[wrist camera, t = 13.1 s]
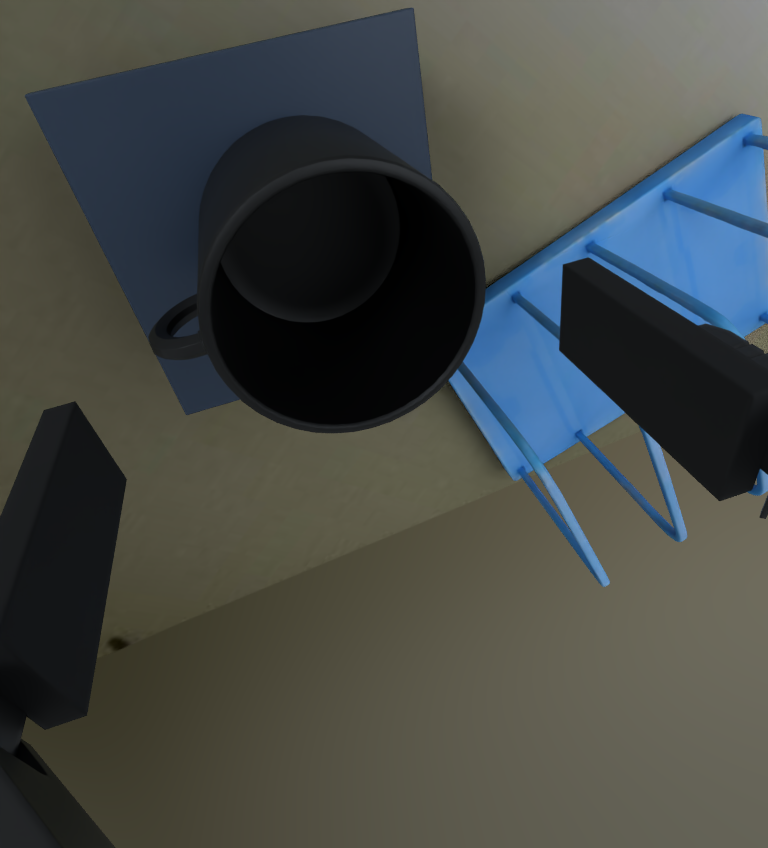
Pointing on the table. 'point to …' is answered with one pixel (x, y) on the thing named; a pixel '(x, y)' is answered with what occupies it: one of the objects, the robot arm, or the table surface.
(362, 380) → the mug
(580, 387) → the file sorter
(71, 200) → the table surface
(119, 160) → the container
